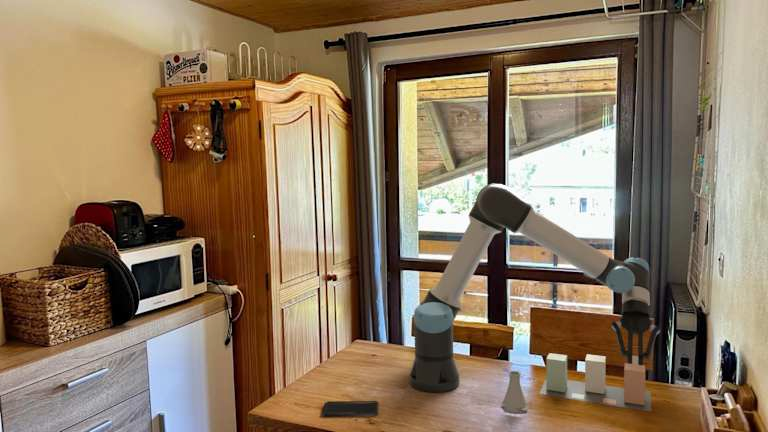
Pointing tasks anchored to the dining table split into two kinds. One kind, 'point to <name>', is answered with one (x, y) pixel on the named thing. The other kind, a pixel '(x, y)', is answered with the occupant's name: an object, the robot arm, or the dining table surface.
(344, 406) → the phone
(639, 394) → the pink tall block
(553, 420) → the dining table surface
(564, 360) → the pale green tall block
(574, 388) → the grey board
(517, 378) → the flask
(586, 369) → the cream tall block
